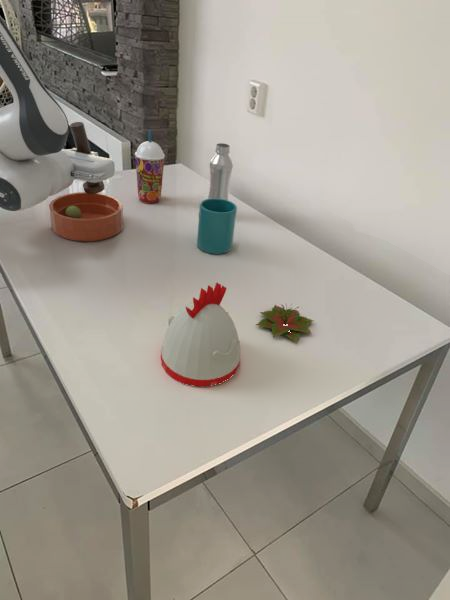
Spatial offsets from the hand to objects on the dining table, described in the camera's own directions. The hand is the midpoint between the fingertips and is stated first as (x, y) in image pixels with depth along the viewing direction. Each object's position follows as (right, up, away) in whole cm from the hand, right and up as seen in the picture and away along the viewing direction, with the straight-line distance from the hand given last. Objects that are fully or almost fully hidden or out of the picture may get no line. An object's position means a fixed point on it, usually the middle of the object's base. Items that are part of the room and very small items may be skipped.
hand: (86, 153), depth 106 cm
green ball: (-7, -12, +11) cm, 17 cm away
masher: (0, -7, +5) cm, 9 cm away
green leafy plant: (+45, -40, -16) cm, 62 cm away
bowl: (-3, -16, +11) cm, 19 cm away
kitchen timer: (+28, -45, -26) cm, 59 cm away
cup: (+29, -20, +10) cm, 37 cm away
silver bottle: (+30, -10, +26) cm, 41 cm away
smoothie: (+10, -5, +30) cm, 32 cm away
